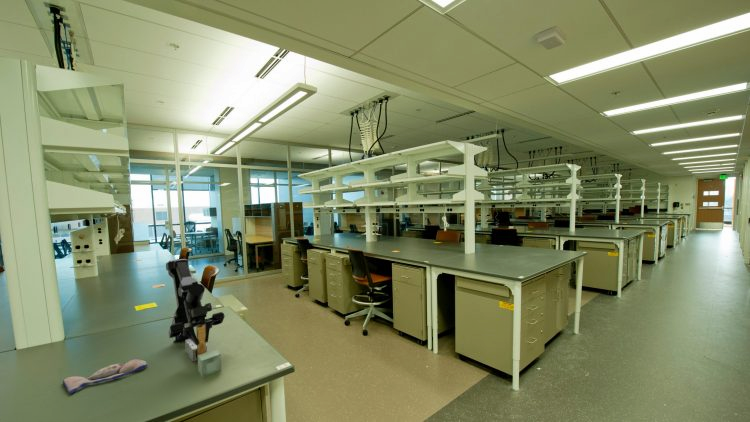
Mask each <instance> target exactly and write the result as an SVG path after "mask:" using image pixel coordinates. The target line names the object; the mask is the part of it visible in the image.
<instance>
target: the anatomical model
mask: <svg viewBox="0 0 750 422" xmlns="http://www.w3.org/2000/svg"><path fill="white" fill-rule="evenodd" d="M146 367H148V363H147V362H146V361H145V360H142V359H140V358H135V359H131V360H129V361H127V362H126V363H124V364H122V363H115V364H114V363H113V364H111V365H107V366H105V367H103V368H100V369H99V370H97V371H95V372H94V373H93V374H92V375H90V376H89V377H87V378H86V377H84V376H77V375H76V376H70V377H69V376H68V377H67V378H65V379H63V380H62V383H63V385H64V387H65V388H66V390H67V392H68V393H69V394H72V393H75V392H78V391H80V390H82V389H84V388H86V387H88V386H90V385H92V384H99V383H102V382H107V381H113V380H117V379H120V378H122V377H124V376H126V375H128V374H131V373H134V372H139V371H142V370H143V369H145V368H146Z"/></svg>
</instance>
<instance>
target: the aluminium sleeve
mask: <svg viewBox="0 0 750 422" xmlns="http://www.w3.org/2000/svg"><path fill="white" fill-rule="evenodd" d="M184 349H185V350H184V351H185V353H186V354H187V356H188V357H189V359H190V360H191V361H192V362H196V361H197V362H198V360H197V356H196V350H197V345H196V344H195V343H194V342H193V341H192V340H191V339H187V340H185V342H184ZM206 352H208V344H206Z"/></svg>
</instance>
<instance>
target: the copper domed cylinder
mask: <svg viewBox="0 0 750 422" xmlns="http://www.w3.org/2000/svg"><path fill="white" fill-rule="evenodd" d="M195 329H196V337H197V340H198V345H197V350H196V356H197V361H198V355H201V354H203V353H206V345H207V342H206V328H205V325H199V326H197V327H195Z"/></svg>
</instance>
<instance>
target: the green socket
mask: <svg viewBox="0 0 750 422" xmlns="http://www.w3.org/2000/svg"><path fill="white" fill-rule="evenodd" d="M221 359H222V357H221V353H220V352H219V351H218V350H217V349H213V350H209V351H207V352H206V353H203V354H201V355H198V360H197V371H198V373H199V375H200V376H201V378H205V377H207V376H210V375H213V374H216V373H218V372H220V371H222V360H221Z"/></svg>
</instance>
